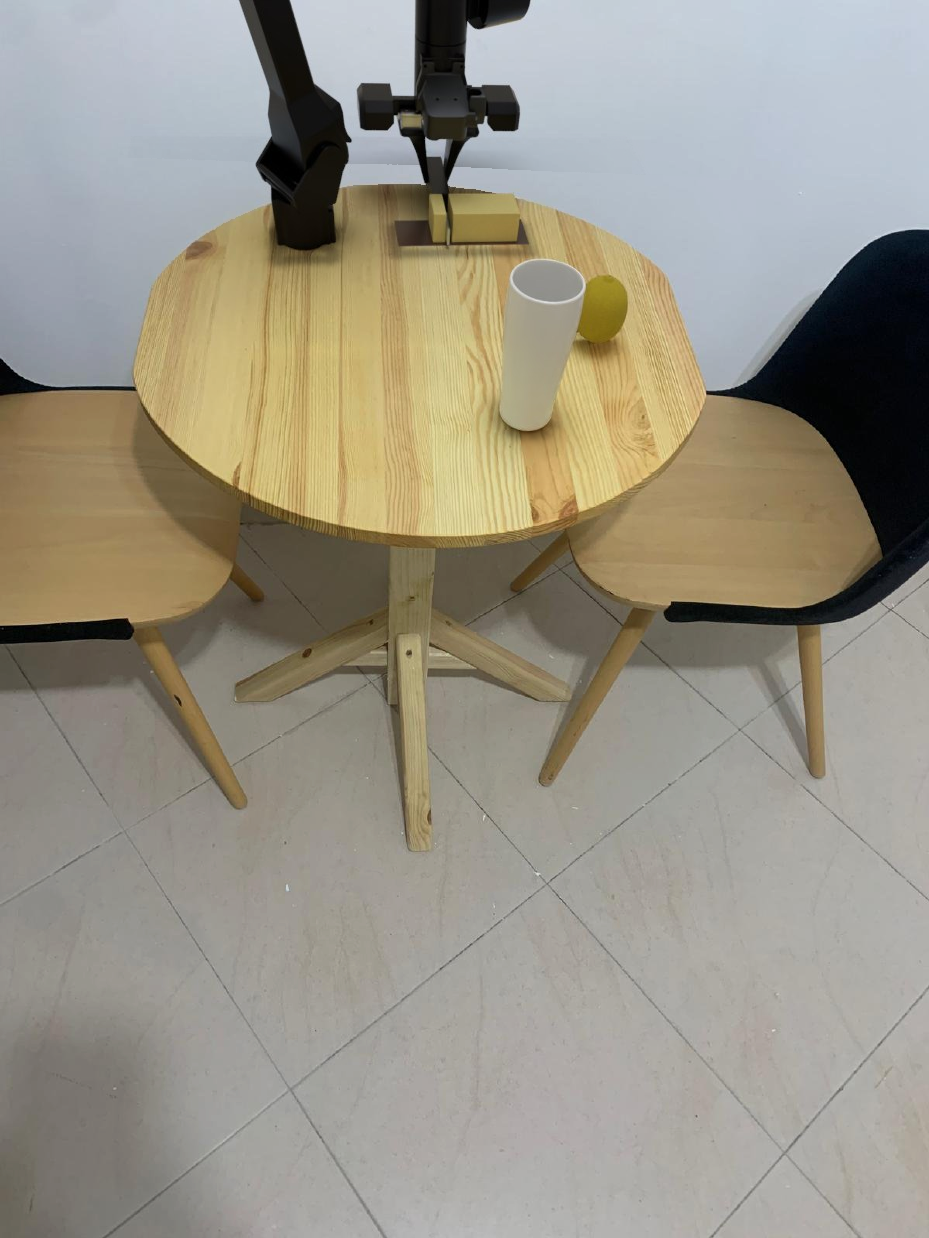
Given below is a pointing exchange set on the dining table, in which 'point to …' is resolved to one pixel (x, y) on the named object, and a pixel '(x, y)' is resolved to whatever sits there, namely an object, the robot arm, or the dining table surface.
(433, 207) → the butter slice
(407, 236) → the board
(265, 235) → the dining table surface
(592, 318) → the lemon
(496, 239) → the butter stick
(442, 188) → the knife
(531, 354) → the drinking glass
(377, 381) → the dining table surface
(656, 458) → the dining table surface
